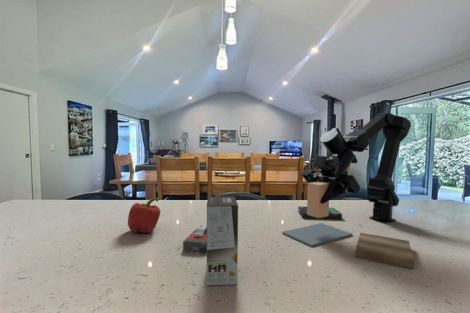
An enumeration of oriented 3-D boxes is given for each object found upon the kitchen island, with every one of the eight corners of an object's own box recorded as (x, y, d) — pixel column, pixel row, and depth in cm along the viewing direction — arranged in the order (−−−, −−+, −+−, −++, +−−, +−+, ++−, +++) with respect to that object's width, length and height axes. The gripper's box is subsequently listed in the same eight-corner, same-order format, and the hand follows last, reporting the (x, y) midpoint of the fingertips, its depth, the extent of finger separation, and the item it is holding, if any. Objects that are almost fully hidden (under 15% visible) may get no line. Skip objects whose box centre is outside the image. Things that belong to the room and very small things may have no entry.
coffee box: (238, 285, 51) (239, 205, 50) (206, 286, 50) (206, 205, 49) (234, 263, 60) (235, 195, 59) (207, 264, 59) (207, 196, 59)
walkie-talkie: (212, 257, 64) (229, 230, 84) (212, 240, 64) (229, 217, 83) (179, 254, 66) (203, 228, 85) (179, 237, 65) (203, 215, 85)
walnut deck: (359, 239, 76) (360, 232, 76) (408, 247, 70) (408, 240, 70) (355, 257, 64) (355, 249, 64) (413, 269, 58) (414, 260, 58)
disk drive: (302, 220, 97) (342, 220, 96) (302, 213, 97) (342, 213, 95) (297, 212, 107) (333, 213, 106) (297, 206, 107) (333, 206, 106)
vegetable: (149, 223, 89) (149, 195, 89) (169, 229, 83) (169, 199, 83) (120, 232, 80) (119, 200, 80) (139, 239, 74) (139, 205, 74)
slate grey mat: (321, 224, 89) (321, 223, 89) (352, 235, 79) (352, 233, 79) (282, 233, 80) (282, 231, 80) (311, 247, 70) (311, 244, 70)
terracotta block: (317, 212, 82) (317, 181, 82) (328, 216, 78) (329, 183, 78) (307, 214, 80) (307, 182, 80) (318, 218, 76) (319, 185, 76)
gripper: (305, 146, 88) (280, 180, 83) (355, 147, 72) (327, 189, 67) (320, 168, 93) (298, 201, 88) (370, 173, 77) (346, 214, 72)
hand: (315, 201), depth 78 cm, fingers closed on terracotta block, 4 cm apart
